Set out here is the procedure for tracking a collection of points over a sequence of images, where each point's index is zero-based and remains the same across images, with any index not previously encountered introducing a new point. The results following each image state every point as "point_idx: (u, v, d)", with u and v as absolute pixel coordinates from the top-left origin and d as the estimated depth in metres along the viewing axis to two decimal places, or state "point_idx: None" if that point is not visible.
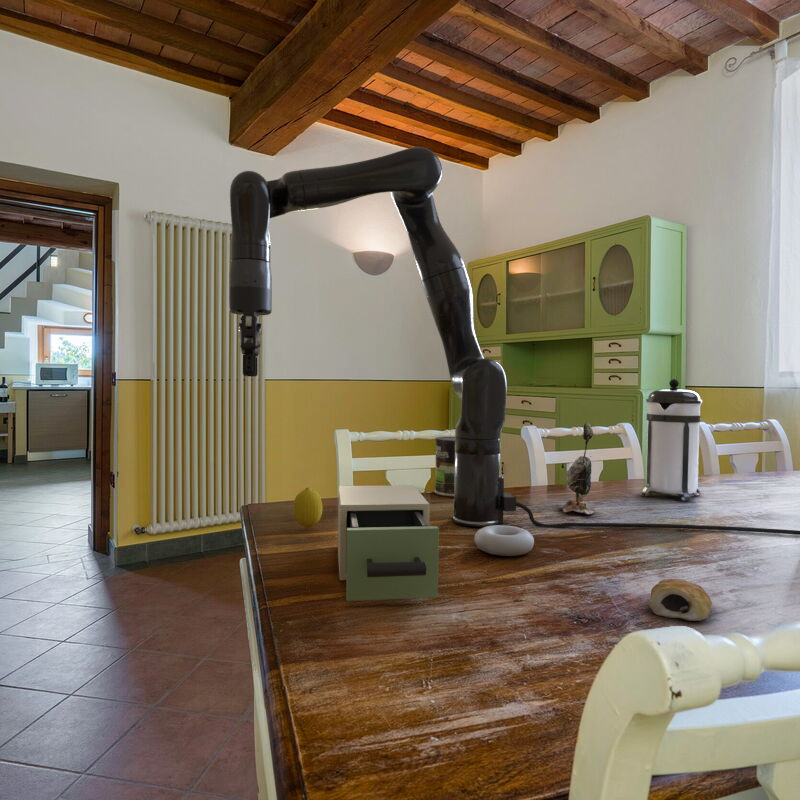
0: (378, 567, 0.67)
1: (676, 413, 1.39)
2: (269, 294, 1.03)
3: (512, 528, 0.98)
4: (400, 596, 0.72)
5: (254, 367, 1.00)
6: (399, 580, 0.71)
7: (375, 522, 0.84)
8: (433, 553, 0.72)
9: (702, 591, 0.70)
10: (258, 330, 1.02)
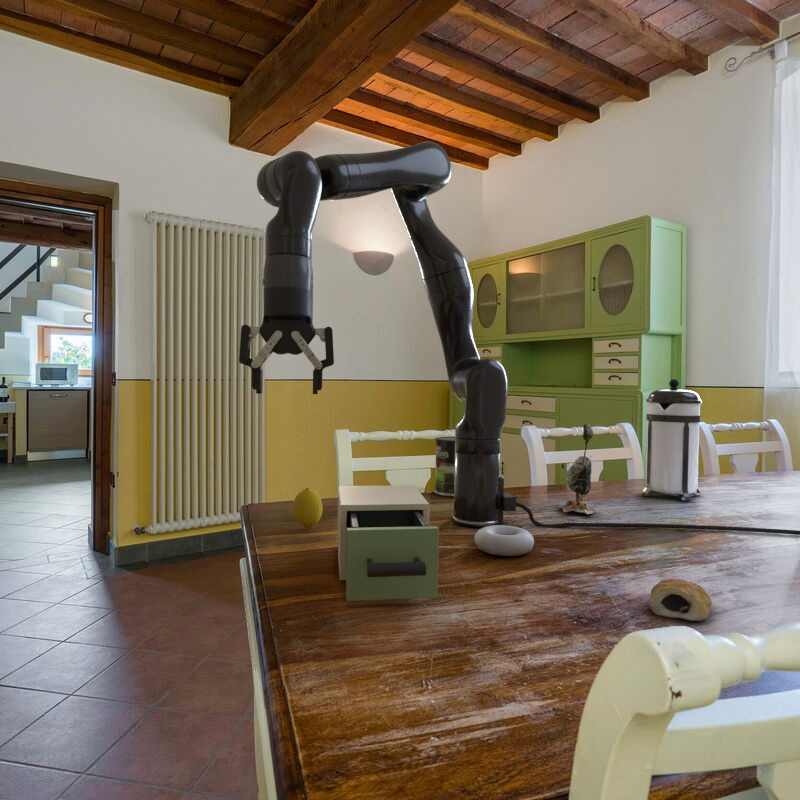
0: (378, 567, 0.67)
1: (676, 413, 1.39)
2: None
3: (512, 528, 0.98)
4: (400, 596, 0.72)
5: None
6: (399, 580, 0.71)
7: (375, 522, 0.84)
8: (433, 553, 0.72)
9: (702, 591, 0.70)
10: None
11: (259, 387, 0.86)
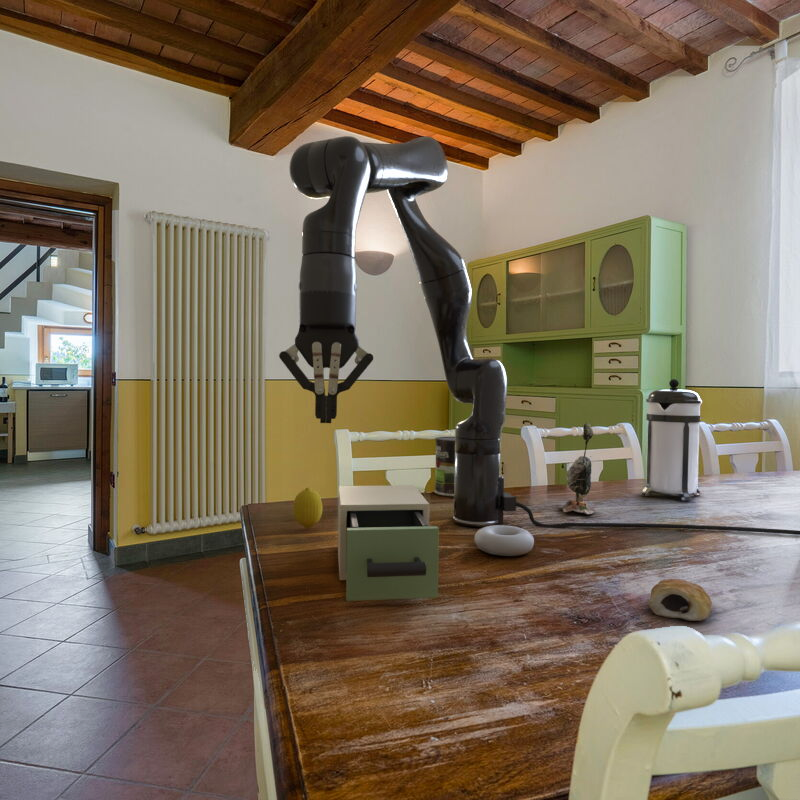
0: (378, 567, 0.67)
1: (676, 413, 1.39)
2: None
3: (512, 528, 0.98)
4: (400, 596, 0.72)
5: None
6: (399, 580, 0.71)
7: (375, 522, 0.84)
8: (433, 553, 0.72)
9: (702, 591, 0.70)
10: None
11: (324, 416, 0.75)
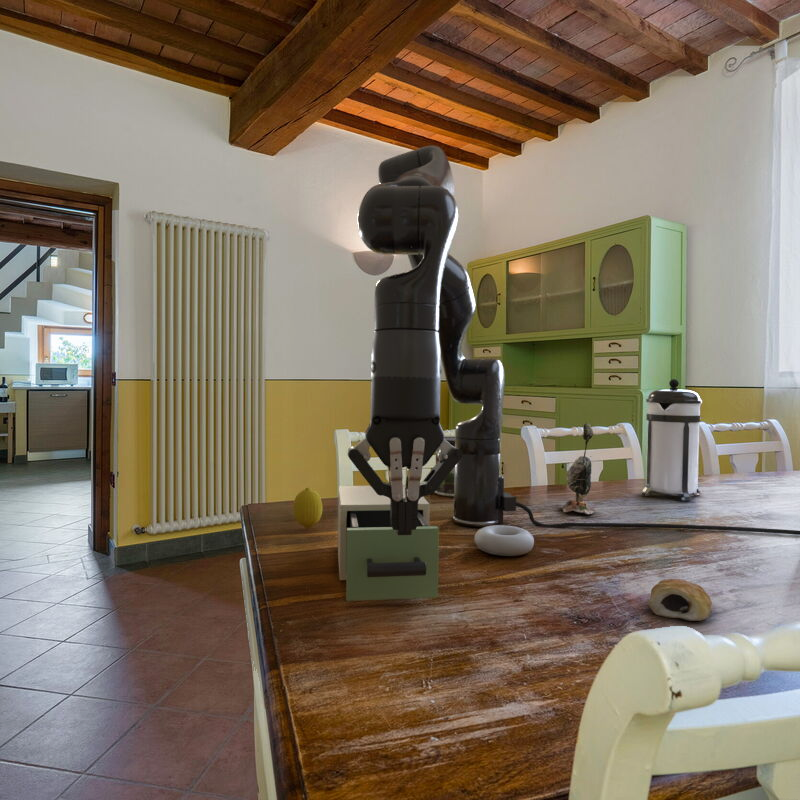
0: (378, 567, 0.67)
1: (676, 413, 1.39)
2: None
3: (512, 528, 0.98)
4: (400, 596, 0.72)
5: None
6: (399, 580, 0.71)
7: (375, 522, 0.84)
8: (433, 553, 0.72)
9: (702, 591, 0.70)
10: None
11: (403, 527, 0.61)
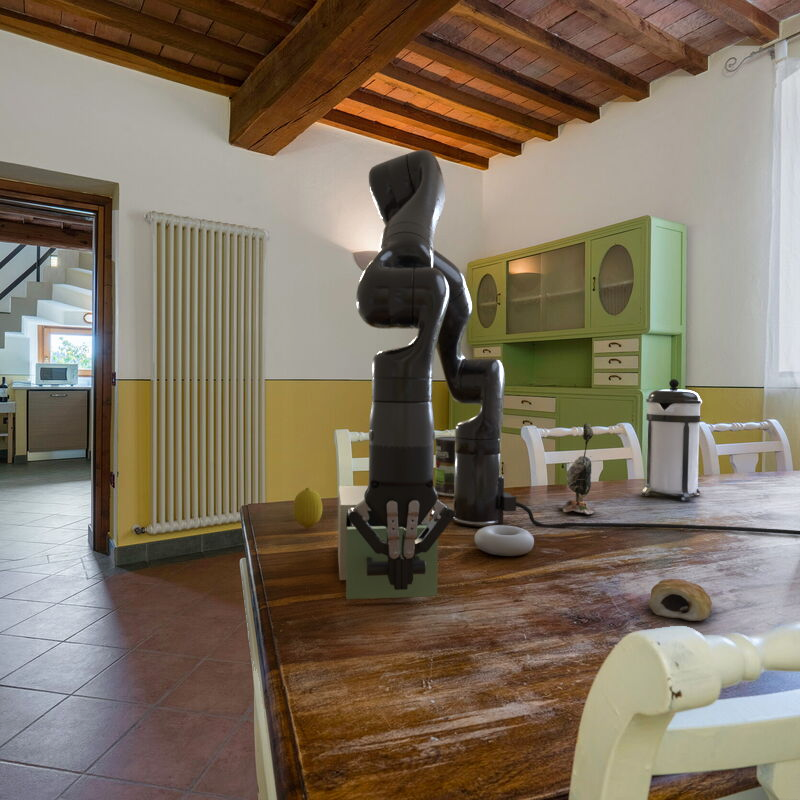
0: (378, 566, 0.67)
1: (676, 413, 1.39)
2: None
3: (512, 528, 0.98)
4: (399, 595, 0.72)
5: None
6: None
7: (375, 521, 0.84)
8: (432, 551, 0.72)
9: (702, 591, 0.70)
10: None
11: (399, 582, 0.65)
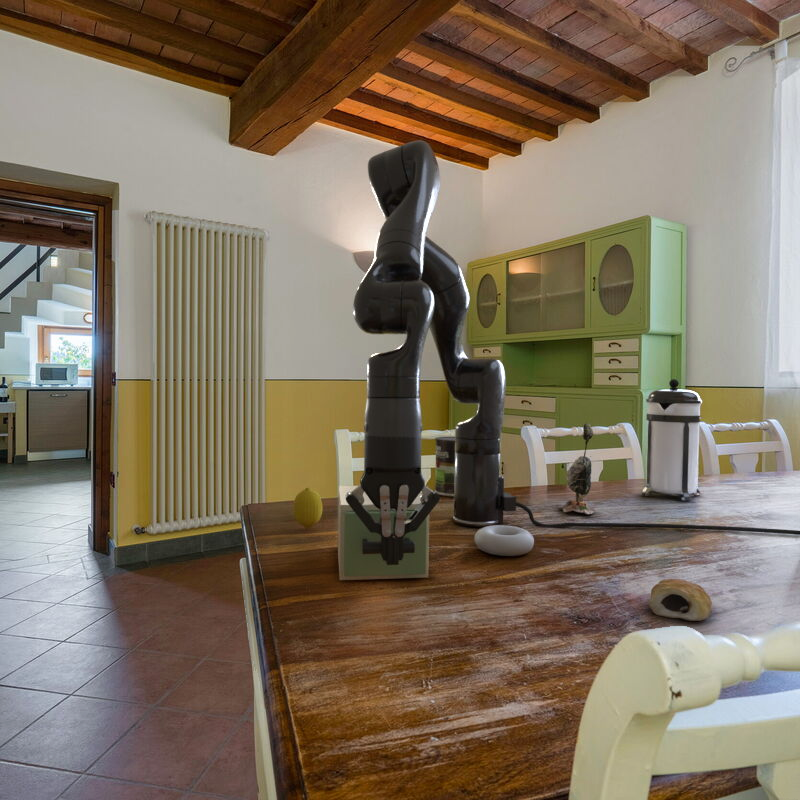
0: (372, 545, 0.76)
1: (676, 413, 1.39)
2: None
3: (512, 528, 0.98)
4: (392, 572, 0.80)
5: None
6: None
7: None
8: (421, 534, 0.81)
9: (702, 591, 0.70)
10: None
11: (391, 558, 0.74)
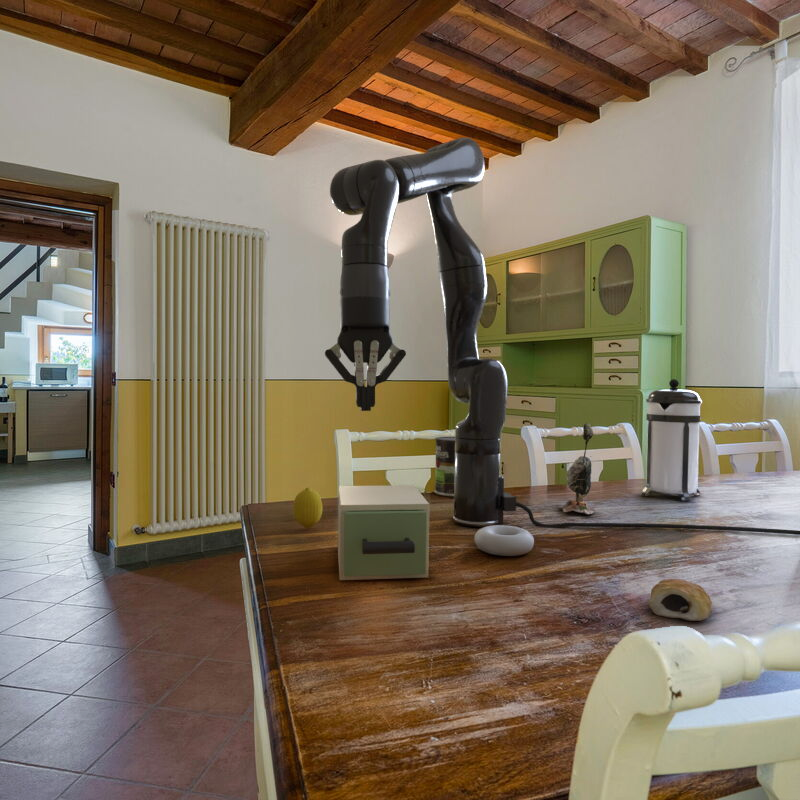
0: (372, 545, 0.76)
1: (676, 413, 1.39)
2: None
3: (512, 528, 0.98)
4: (392, 572, 0.80)
5: None
6: (391, 558, 0.80)
7: None
8: (421, 534, 0.81)
9: (702, 591, 0.70)
10: None
11: (364, 404, 0.86)
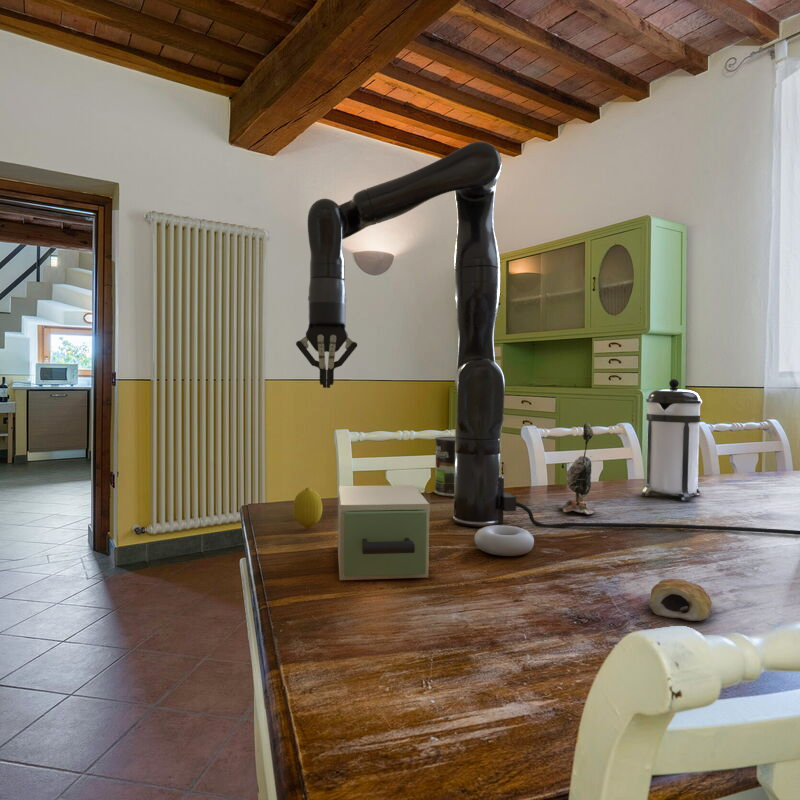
0: (372, 545, 0.76)
1: (676, 413, 1.39)
2: None
3: (512, 528, 0.98)
4: (392, 572, 0.80)
5: None
6: (391, 558, 0.80)
7: None
8: (421, 534, 0.81)
9: (702, 591, 0.70)
10: None
11: (325, 383, 1.15)
